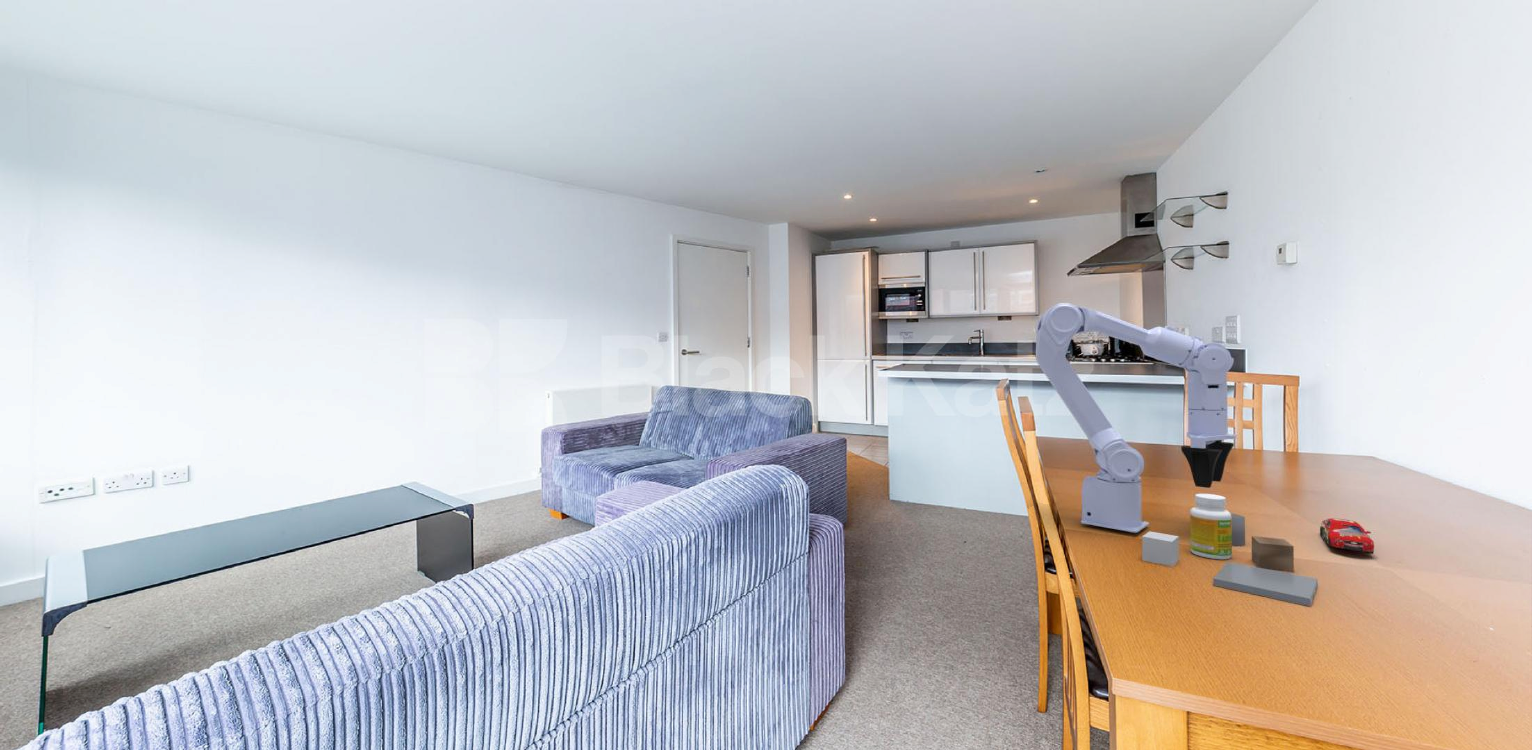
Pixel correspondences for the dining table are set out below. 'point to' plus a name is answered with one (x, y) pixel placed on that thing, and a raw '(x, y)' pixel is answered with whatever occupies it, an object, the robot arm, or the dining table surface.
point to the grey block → (1160, 548)
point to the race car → (1346, 535)
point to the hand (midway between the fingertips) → (1208, 483)
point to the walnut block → (1273, 554)
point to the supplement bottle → (1211, 527)
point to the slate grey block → (1238, 530)
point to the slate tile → (1267, 583)
